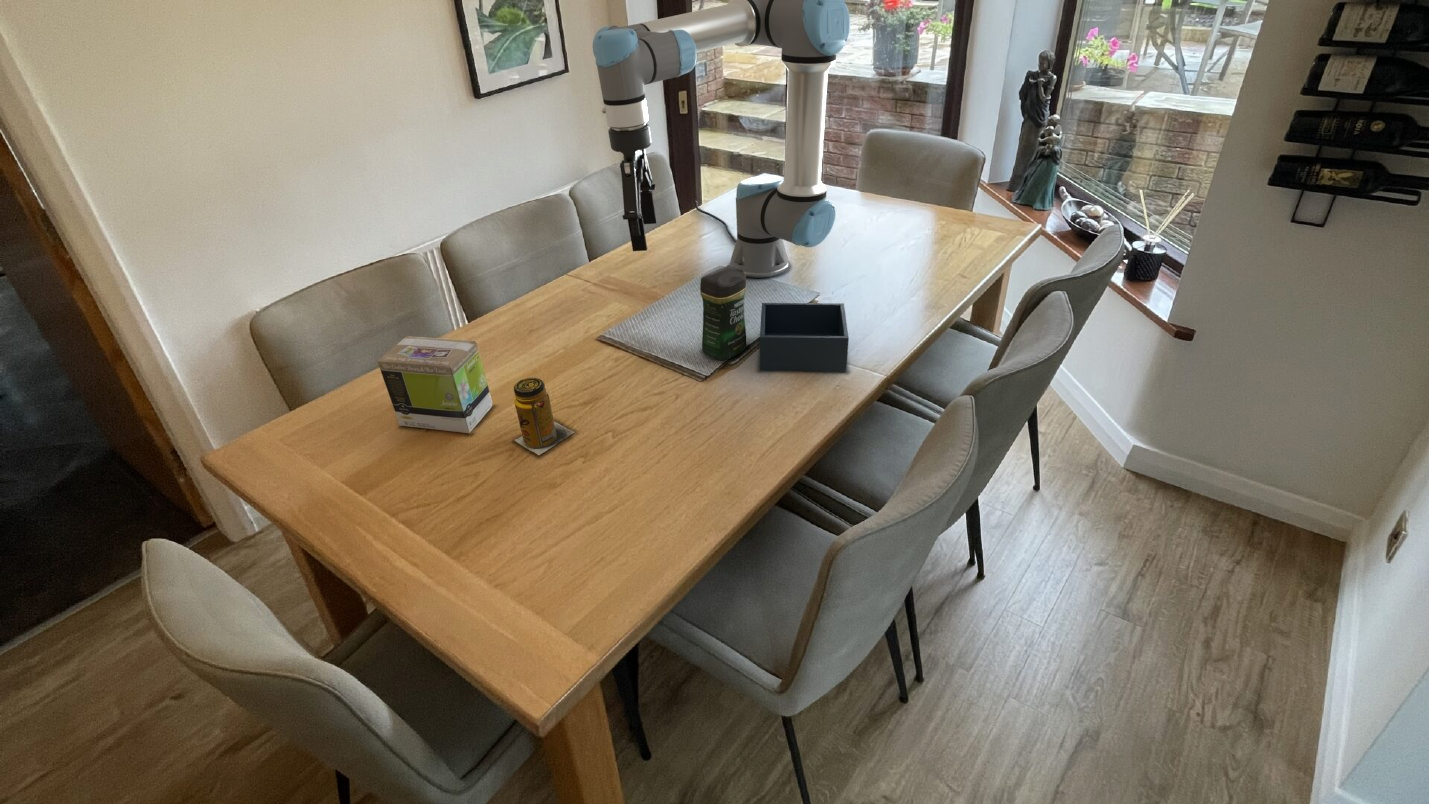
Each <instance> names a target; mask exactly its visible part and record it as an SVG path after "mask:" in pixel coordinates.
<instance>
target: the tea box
mask: <svg viewBox="0 0 1429 804" xmlns="http://www.w3.org/2000/svg"><path fill="white" fill-rule="evenodd" d="M377 365H378V367H379V370H380V374H381V376H382V380H383V383H384V385H385V388H386V390H387V393H388V396H389V398H390V402H391V404H392V408H393V410H394V412H395V415H396V419H397V421H398V425H399V426H400V427H410V428H420V429H429V430H437V431H447V432H455V433H464V434H470V433H471V432H472V431H473V430H474V429H475V427H477V425H478V424H479V423H480V422H481V421H482V419H483V418H484V417H485V416H486V414H487V413H488V412H489V411H490V410H491V408H492V407H493V400H492V396H491V392H490V387H489V385H488V380H487V377H486V372H485V369H484V366H483V365H484V364H483V361H482V358H481V354H480V350H479V346H478V342H477V341H476V340H468V339H452V338H440V337H427V336H411V335H406V336H405V337H404V338H403V339H402V340H400V341H399V342H397V344H396V345H394V346H393V347H392V348H391V349H390V350H388V351H387V352H386V353H385V354H384V355H382V357H380V358H379V359H378V360H377Z"/></svg>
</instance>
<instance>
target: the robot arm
mask: <svg viewBox="0 0 1429 804" xmlns="http://www.w3.org/2000/svg"><path fill="white" fill-rule="evenodd" d="M850 33H851V16H850V11H849V8H848V5H847V3H846V1H844V0H729V1H728V2H727V3H726V4H722V5H719V6H713V7H708V8H704V9H699V10H695V11H690V12H685V13H681V14H680V13H679V14H677V15H672V16H667V17H663V18H658V19H652V20H648V21H644V22H640V23H634V24H629V25H624V26H617V25H606V26H603V27H601V28H599V29H598V30H597V32H596V33H595V35H594V37H593V39H592V52H593V56H594V58H595V66H596V70H597V73H598V80H599V85H600V90H601V97H602V100H603V101H602V102H603V107H602V108H601V113H602V114H605V119H606V125H607V126H608V127H609V128H608V130H607V132H608V138H609V144H610V148H611V150H612V151H613V152H616V153H621V154H622V155H623V160H621V162H620V164H619V168H620V172H621V173H620V175H621V189H622V201H623V203H622V204H623V214H622V220H623V221H625V220H627V224H628V230H629V236H630V242H631V248H632V252H645V251H648V243H647V238H646V237H647V235H646V231H645V225H655V224H657V221H658V220H657V215H656V208H655V201H654V194H653V191H656V189H657V188H656V183H654V179H653V176H652V172H651V167H650V165H649V160H648V156H647V151H646V149H648V148H649V147H650V146H651V145H652V136H651V130H650V129H651V128H650V125H649V124H648V121H649V113H648V106H647V100H646V91H645V86H646V85H650V84H653V83H654V84H655V83H658V82H662V81H666V80H670V79H674V78H680V76H683V75H685V74H688V73H690V72H692V71H693V70H694V68H695V66H696V65H697V64H696V63H697V58H698V55H697V54H698V53H702V52H705V51H711V50H714V49H719V48H722V47H726V46H730V45H731V46H732V45H734V46H737V47H740V48H743V47H747V46H748V47H749V46H764V47H766V46H767V47H773V48H777V49H781V54H780V55H781V57H780V59H781V60H780V61H781V63H782V64H783V65H784V66H785V67H786V69H787V87H786V114H785V115H786V119H785V141H784V144H785V145H784V169H783V171H784V172H783V177H781V176H777V175H761V176H753V177H749V178H746V179H744V180H741V181H740V182H739V183H738V184H737V185H736V195H735V215H736V238H735V236H734V235H733V234H732V232H731V230H730V228H729V226H728V223H726V222H725V221H724V220H722V219H721V218H720V217H718V216H716V215H714V214H712V213H710V212H709V211H705V210H703V209H701V208H700V207H699V206H698V201H697V200H694V205H695V209H696V211H698V212H700V213H702V214H704V215H706V216H709V217H710V218H713V219H714V220H716V221H718V222H720V223H721V224H722V225H723V226H724V228H725V230H726V232H727V234H728V236H729V237H730V238H731V240H732V241H733V242H734V247H733V250H732V254H731V257H730V265H731V266H734V267H737V268H740V269H742V270H743V271H744V273H745V275H746V278H753V279H765V278H772V277H775V276H779V275H781V274H783V273H785V272H786V271H787V270H788V268H789V263H790V261H789V256H788V253H787V249H786V246H785V243H784V241H786V242H789V243H791V244H794V246H801V247H804V248H813V247H817V246H818V245H820V244H821V243H822V242H824V240H826V239H827V237H828V235H829V234H830V233H831V231H832V229H833V227H834V224H835V220H836V208H835V206H834V204H833V203H832V202H831V201H830V200H829V199H827V192H828V188H827V186H826V185H825V183H823V181H822V168H823V167H822V166H823V155H824V153H823V152H824V140H825V139H824V138H825V137H824V136H825V125H826V124H825V121H826V108H827V107H826V106H827V93H828V92H827V91H828V78H829V75H828V74H829V70H830V68H831V67H832V66H833V65H834V64H835V63H836V62H837V54H839V53H840V52H842V50H843V49H844V48H845V46H846V42H848V39H849V37H850Z"/></svg>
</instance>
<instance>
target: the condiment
mask: <svg viewBox="0 0 1429 804" xmlns="http://www.w3.org/2000/svg"><path fill="white" fill-rule="evenodd" d="M545 385H546V384H545V383H544V381H543V380H542V379H540V378H538V377H526V378H523V379H520V380H519V381H517V382H516V383H515V384H514V386H513V393H514V397H515V399H514V406H515V407H514V408H515V411H516V415H517V420H518V423H519V429H520V433H521V436H519V437H518V438H516V439H514V440H513V441H514V442H515V443H517V444H519V445H520V446H522V447H523V448H525V449H527V450H529V451H530V452H532V453H534V454H536V455H537V456H540V455H542V454H543V453H546V452H548V451H549V450H551V449H552V448H553V447H555V446H557V445H558V444H560V443H561V442H562V441H564V440H566V439H567V438H569V437H570V436H571V435H573V434H574V433H575V431H574V430H571V429H570V428H567V427H565V426H564V425H561V424H560V423H558V422H556V421H555V419H554V415H553V414H554V413H553V410H552V404H551V400H550V395H549V393H548V392H547V388H546V386H545Z"/></svg>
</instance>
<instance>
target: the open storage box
mask: <svg viewBox="0 0 1429 804" xmlns="http://www.w3.org/2000/svg"><path fill="white" fill-rule="evenodd" d="M759 328H760V329H759V371H760V372H804V373H805V372H806V373H808V372H809V373H846V372H847V364H848V351H849V339H850V338H849V330H848V323H847V315H846V308H845V303H843V302H842V303H841V302H837V303H834V302H832V303H830V302H829V303H827V302H824V303H823V302H761V310H760V327H759Z"/></svg>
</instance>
